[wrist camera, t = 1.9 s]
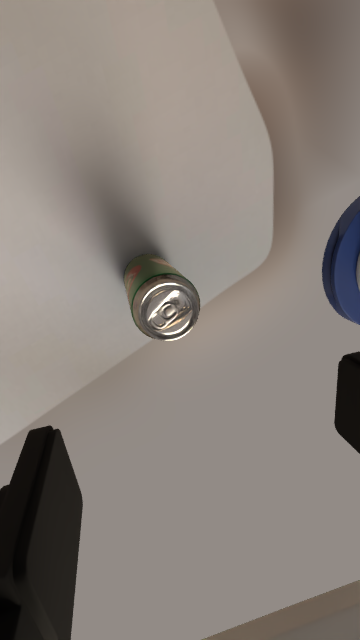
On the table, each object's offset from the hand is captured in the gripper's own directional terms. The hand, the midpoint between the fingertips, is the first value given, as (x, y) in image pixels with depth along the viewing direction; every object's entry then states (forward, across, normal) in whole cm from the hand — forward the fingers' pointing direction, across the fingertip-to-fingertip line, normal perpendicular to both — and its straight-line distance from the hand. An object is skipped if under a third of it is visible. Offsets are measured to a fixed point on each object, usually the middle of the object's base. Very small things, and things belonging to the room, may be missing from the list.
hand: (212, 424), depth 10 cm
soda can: (+24, -1, 0) cm, 24 cm away
